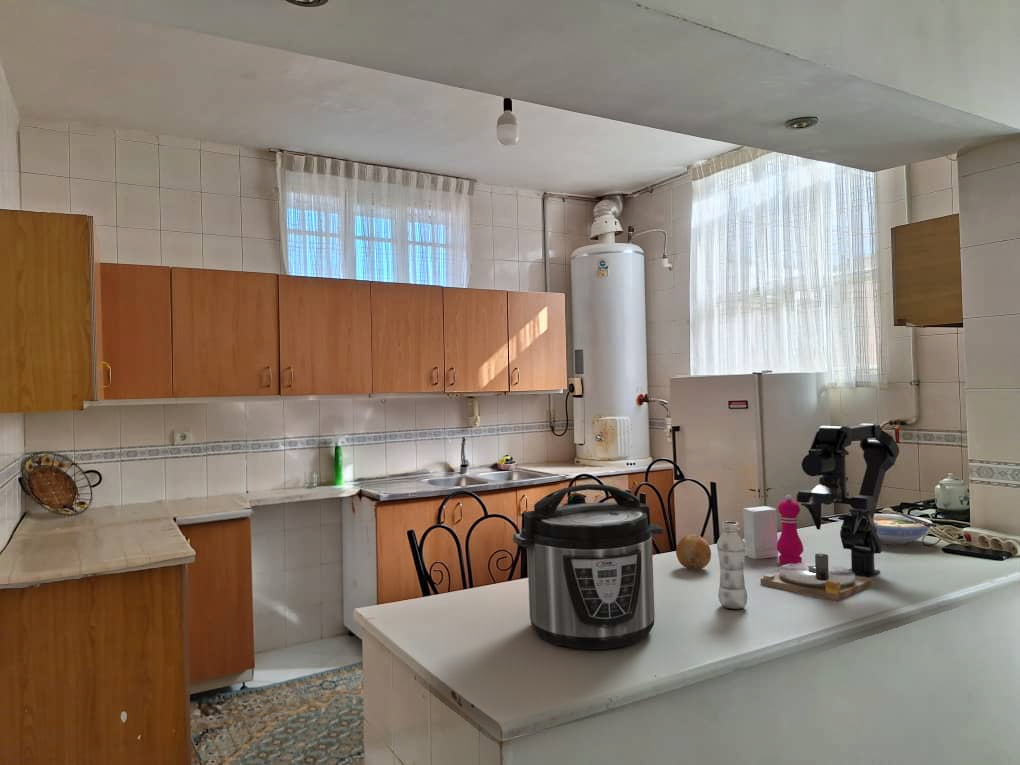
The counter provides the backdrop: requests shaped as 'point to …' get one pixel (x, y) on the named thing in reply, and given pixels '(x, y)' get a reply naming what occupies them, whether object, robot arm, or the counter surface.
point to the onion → (693, 552)
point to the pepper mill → (789, 532)
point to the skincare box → (760, 532)
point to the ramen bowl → (900, 528)
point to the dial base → (830, 592)
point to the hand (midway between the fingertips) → (835, 531)
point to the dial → (816, 573)
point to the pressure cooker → (590, 568)
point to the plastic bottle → (731, 567)
